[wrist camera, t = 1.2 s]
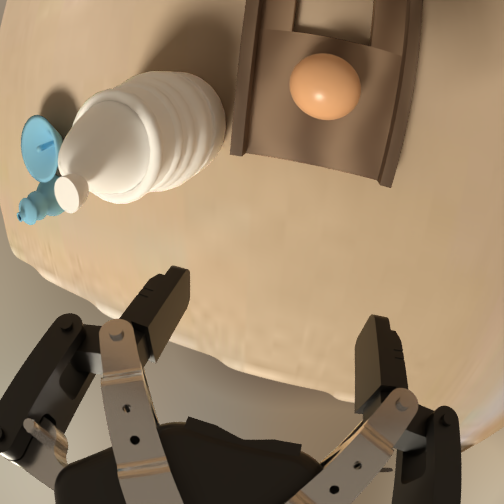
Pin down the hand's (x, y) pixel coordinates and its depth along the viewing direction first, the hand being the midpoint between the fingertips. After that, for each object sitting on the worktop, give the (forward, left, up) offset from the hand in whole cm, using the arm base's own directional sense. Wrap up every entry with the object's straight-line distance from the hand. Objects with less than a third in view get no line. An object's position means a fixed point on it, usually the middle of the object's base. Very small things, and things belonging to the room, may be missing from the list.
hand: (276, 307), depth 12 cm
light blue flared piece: (+38, +3, -21) cm, 43 cm away
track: (0, -15, -21) cm, 26 cm away
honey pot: (+16, -3, -21) cm, 26 cm away
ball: (0, -9, -16) cm, 19 cm away
